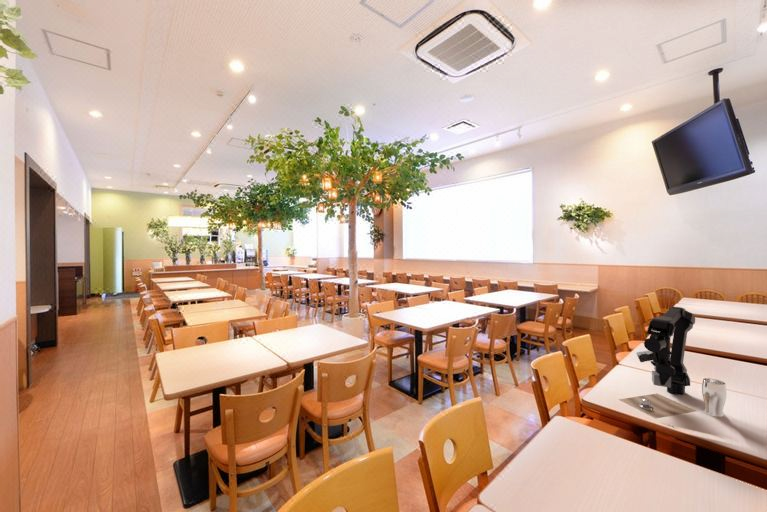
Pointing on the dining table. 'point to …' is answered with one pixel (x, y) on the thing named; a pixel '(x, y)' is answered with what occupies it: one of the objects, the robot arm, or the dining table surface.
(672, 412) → the board
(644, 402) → the silver rounded piece
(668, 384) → the grey block
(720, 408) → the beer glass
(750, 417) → the dining table surface
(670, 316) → the robot arm
